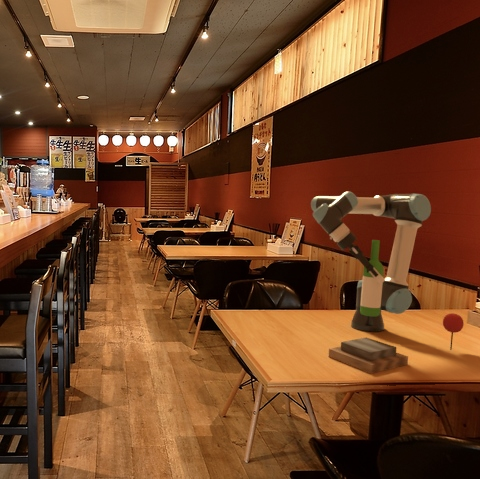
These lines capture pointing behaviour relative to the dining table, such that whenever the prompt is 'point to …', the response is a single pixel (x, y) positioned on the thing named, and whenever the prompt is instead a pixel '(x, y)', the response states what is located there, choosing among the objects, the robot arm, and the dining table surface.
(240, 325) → the dining table surface
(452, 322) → the lollipop
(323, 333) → the dining table surface
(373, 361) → the plinth
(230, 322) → the dining table surface
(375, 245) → the wine bottle
